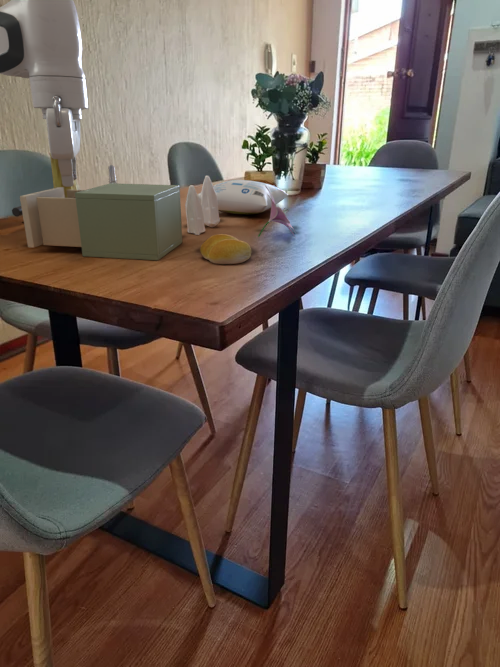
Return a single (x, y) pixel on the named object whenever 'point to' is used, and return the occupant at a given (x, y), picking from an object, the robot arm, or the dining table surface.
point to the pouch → (246, 196)
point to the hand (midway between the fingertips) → (70, 183)
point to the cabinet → (129, 220)
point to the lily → (277, 216)
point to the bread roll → (225, 249)
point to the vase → (59, 177)
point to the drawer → (50, 218)
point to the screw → (112, 174)
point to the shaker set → (202, 208)
